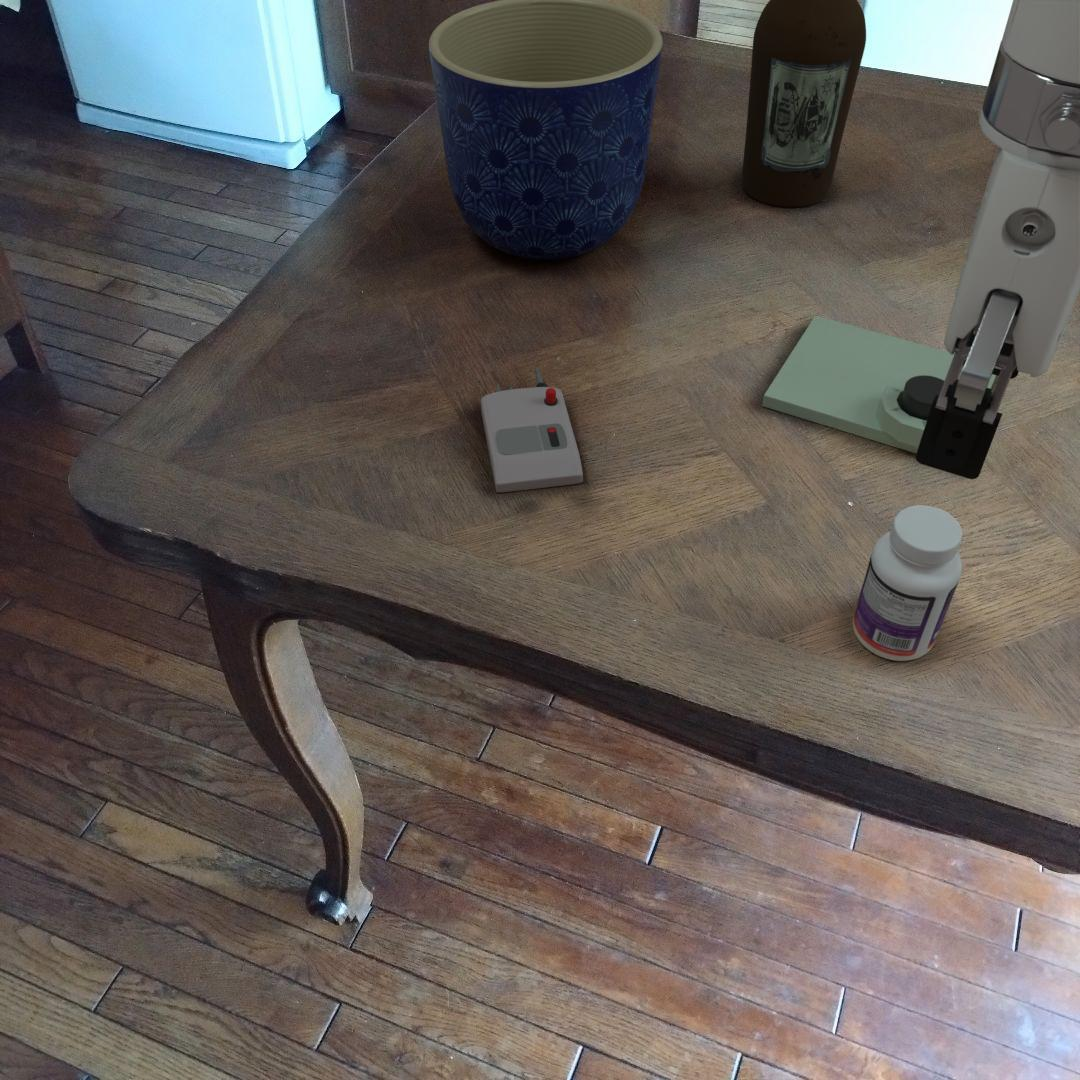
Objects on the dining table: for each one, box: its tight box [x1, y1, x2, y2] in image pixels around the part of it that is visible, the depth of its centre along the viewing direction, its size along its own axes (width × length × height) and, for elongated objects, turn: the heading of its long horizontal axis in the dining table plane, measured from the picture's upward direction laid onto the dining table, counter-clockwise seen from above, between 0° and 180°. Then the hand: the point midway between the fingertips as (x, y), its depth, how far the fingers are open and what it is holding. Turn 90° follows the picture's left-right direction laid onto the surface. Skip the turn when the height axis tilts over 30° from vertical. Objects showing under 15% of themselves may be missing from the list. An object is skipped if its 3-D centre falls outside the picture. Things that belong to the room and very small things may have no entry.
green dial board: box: [761, 315, 997, 454], centre depth 87 cm, size 16×14×3 cm
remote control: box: [480, 365, 584, 510], centre depth 83 cm, size 7×16×3 cm, turn 9°
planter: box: [428, 0, 664, 261], centre depth 100 cm, size 21×21×19 cm
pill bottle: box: [852, 504, 963, 662], centre depth 67 cm, size 5×5×10 cm
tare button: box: [900, 375, 944, 421], centre depth 82 cm, size 4×4×2 cm
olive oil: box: [740, 0, 867, 208], centre depth 104 cm, size 11×11×25 cm
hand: (968, 416), depth 57 cm, fingers open, 9 cm apart
